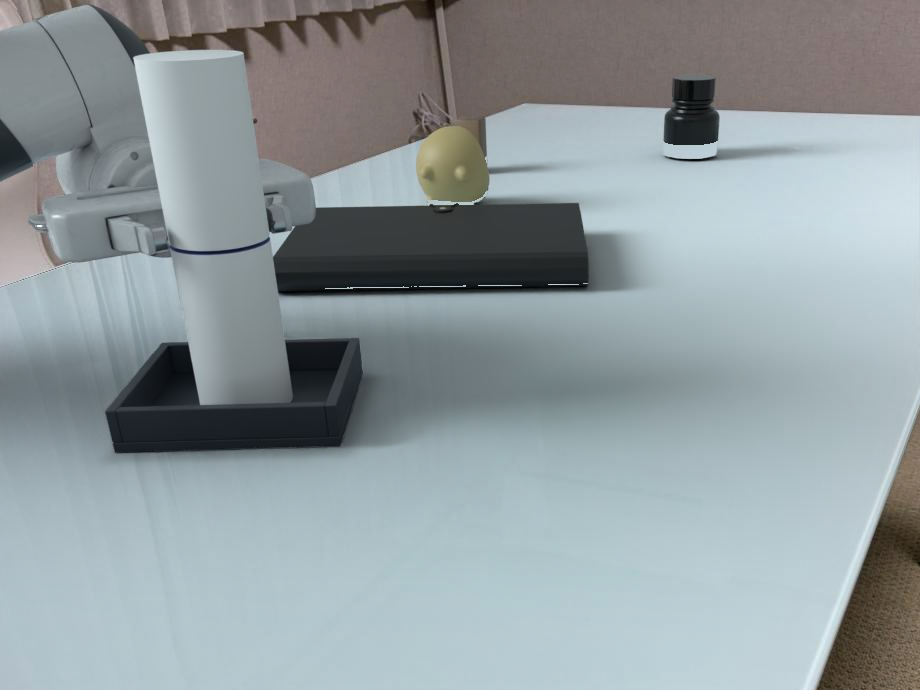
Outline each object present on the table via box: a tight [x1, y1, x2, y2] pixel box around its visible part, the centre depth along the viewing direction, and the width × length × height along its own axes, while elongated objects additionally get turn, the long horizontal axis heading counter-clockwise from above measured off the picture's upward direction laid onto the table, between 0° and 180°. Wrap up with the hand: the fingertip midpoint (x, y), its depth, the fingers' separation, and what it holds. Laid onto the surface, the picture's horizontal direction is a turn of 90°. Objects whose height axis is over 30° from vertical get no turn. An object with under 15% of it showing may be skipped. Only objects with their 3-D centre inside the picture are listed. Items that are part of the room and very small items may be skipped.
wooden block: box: [454, 115, 488, 157], centre depth 163 cm, size 4×4×8 cm
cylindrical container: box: [133, 49, 293, 405], centre depth 77 cm, size 7×7×25 cm
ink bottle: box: [662, 74, 720, 145], centre depth 170 cm, size 10×9×12 cm
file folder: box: [273, 202, 590, 293], centre depth 119 cm, size 33×4×24 cm
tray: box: [104, 337, 364, 453], centre depth 83 cm, size 17×15×3 cm
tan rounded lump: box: [415, 125, 491, 202], centre depth 141 cm, size 10×12×11 cm
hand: (222, 231), depth 76 cm, fingers open, 8 cm apart
